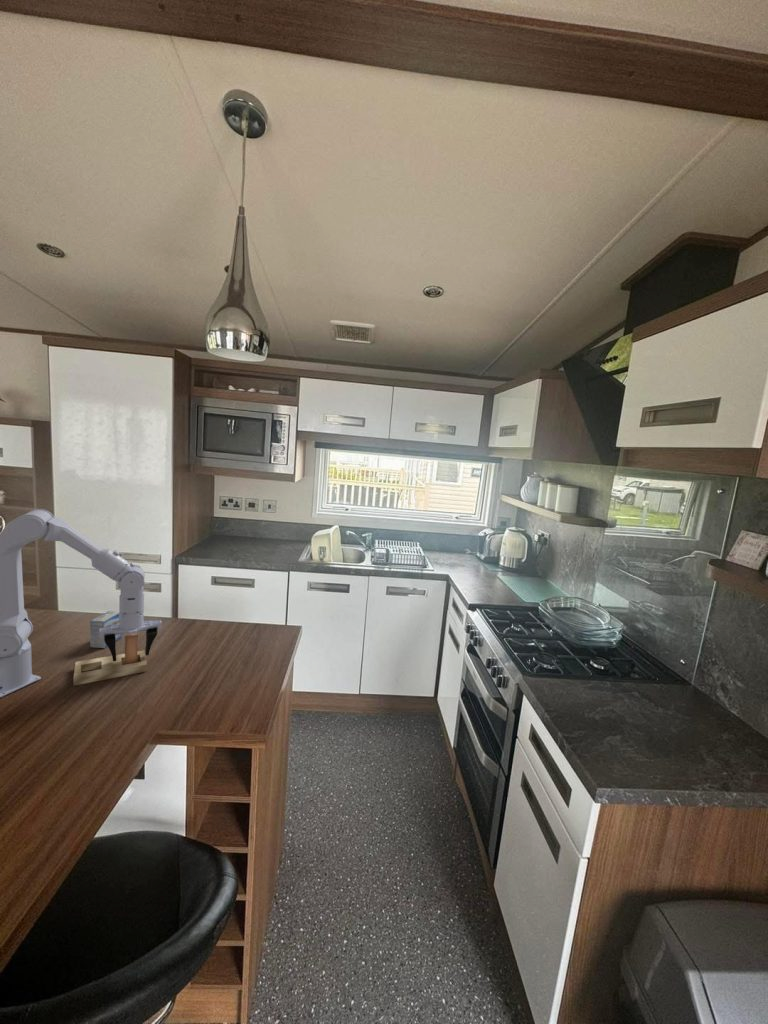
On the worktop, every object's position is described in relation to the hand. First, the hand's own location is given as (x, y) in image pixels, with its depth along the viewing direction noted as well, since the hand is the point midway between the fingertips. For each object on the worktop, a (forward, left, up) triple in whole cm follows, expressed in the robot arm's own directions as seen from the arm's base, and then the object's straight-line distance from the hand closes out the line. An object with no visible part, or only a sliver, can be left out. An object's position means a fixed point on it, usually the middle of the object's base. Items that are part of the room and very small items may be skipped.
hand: (131, 656), depth 111 cm
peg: (0, 0, -3) cm, 3 cm away
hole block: (-3, +3, -3) cm, 5 cm away
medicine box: (+7, +18, -3) cm, 20 cm away
